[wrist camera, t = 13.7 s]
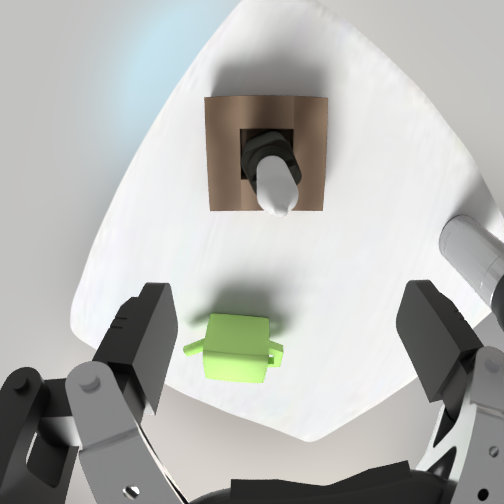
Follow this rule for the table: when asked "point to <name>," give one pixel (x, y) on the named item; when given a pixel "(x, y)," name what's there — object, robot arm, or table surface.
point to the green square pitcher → (237, 348)
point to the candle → (272, 172)
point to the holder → (253, 123)
